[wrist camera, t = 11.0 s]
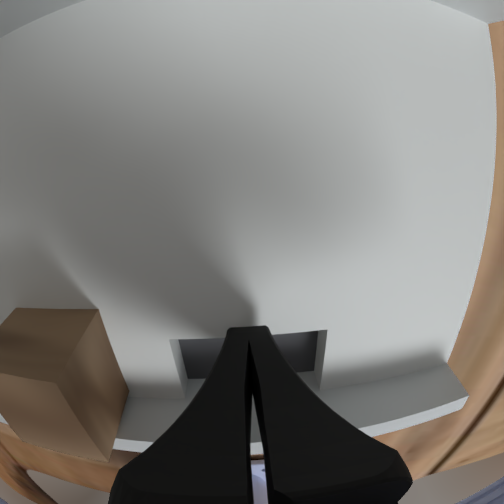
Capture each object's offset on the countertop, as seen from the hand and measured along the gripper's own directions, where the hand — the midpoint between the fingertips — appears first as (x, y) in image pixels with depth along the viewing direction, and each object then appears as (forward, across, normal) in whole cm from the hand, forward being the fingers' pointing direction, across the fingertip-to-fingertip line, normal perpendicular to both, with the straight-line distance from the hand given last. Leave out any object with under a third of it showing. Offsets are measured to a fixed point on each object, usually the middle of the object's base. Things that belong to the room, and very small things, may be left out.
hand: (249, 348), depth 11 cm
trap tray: (+2, +6, -4) cm, 8 cm away
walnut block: (+1, +8, +1) cm, 8 cm away
